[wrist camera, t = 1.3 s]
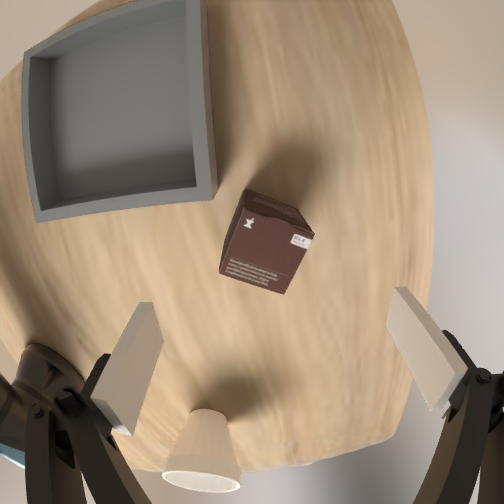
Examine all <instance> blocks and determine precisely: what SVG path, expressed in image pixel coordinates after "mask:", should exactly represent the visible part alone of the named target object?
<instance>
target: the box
mask: <svg viewBox="0 0 504 504" xmlns="http://www.w3.org/2000/svg"><path fill="white" fill-rule="evenodd" d="M314 235H315V233H314V232H313V231H312V230H311V228H310V226H309V225H308V224H307V222H306V221H305V219H304V218H303V216H302V215H301V213H300V212H299V210H298V209H296V208H293V207H291V206H288V205H286V204H283V203H281V202H278V201H276V200H274V199H271V198H268V197H266V196H263V195H260V194H258V193H255V192H252V191H250V190H247V189H245V190H244V191H243V193H242V196H241V199H240V201H239V203H238V206H237V209H236V211H235V214H234V216H233V219H232V222H231V224H230V227H229V230H228V232H227V235H226V238H225V241H224V246H223V251H222V257H221V261H220V266H219V273H220V274H222V275H225V276H228V277H231V278H234V279H237V280H240V281H243V282H246V283H249V284H252V285H255V286H258V287H261V288H264V289H267V290H270V291H274V292H277V293H280V294H285V292H286V290H287V288H288V286H289V284H290V282H291V280H292V279H293V277H294V275H295V273H296V271H297V269H298V267H299V265H300V263H301V261H302V259H303V257H304V255H305V253H306V251H307V249H308V247H309V245H310V243H311V241H312V239H313V237H314Z"/></svg>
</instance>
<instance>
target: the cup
mask: <svg viewBox="0 0 504 504" xmlns="http://www.w3.org/2000/svg"><path fill="white" fill-rule="evenodd" d="M162 476H163V478H164V479H165V480H166V481H168V482H169V483H171V484H174V485H176V486H179V487H182V488H185V489H190V490H195V491H201V492H229V491H234V490H236V489H238V488H239V487H240V486H241V484H240V479H241V468H240V467H238V465H237V461H236V457H235V453H234V449H233V445H232V441H231V437H230V433H229V428H228V424H227V420H226V417H225V416H224V415H223V414H222V413H220V412H218V411H215V410H210V409H197V410H193V411H192V412H191V413H190V414H189V416H188V418H187V420H186V422H185V424H184V426H183V428H182V430H181V432H180V434H179V436H178V438H177V440H176V442H175V444H174V446H173V448H172V450H171V452H170V454H169V456H168V457H167V458H166V459H165V460H164V470H163V473H162Z"/></svg>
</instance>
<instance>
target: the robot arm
mask: <svg viewBox="0 0 504 504" xmlns="http://www.w3.org/2000/svg"><path fill="white" fill-rule="evenodd" d="M385 327H386V329H387V331H388V333H389V334H390V336H391V338H392V340H393V341H394V343H395V345H396V347H397V348H398V350H399V352H400V354H401V356H402V358H403V359H404V361H405V363H406V365H407V367H408V369H409V371H410V372H411V374H412V376H413V378H414V380H415V382H416V384H417V386H418V388H419V390H420V392H421V394H422V396H423V398H424V400H425V402H426V404H427V406H428V408H429V410H430V412H433V411H436V410H438V409H441V408H443V407H444V405H445V404H446V403H447V401H448V400H449V402H450V404H451V405H450V407H449V408H448V409H447V411H446V412H445V414H444V415H443V417H442V419H444V417H445V416H446V415H447V416H446V420H445V423H444V427H443V430H442V433H441V436H440V439H439V442H438V445H437V448H436V451H435V454H434V456H433V459H432V462H431V464H430V467H429V469H428V472H427V474H426V476H425V479H424V481H423V483H422V485H421V488H420V490H419V492H418V494H417V496H416V499H415V500H414V502H413V504H469V501H470V498H471V496H472V493H473V490H474V487H475V484H476V480H477V477H478V474H479V470H480V466H481V471H480V484H479V494H478V501H477V504H504V412H503V407H504V371H503V373H502V374H491V373H490V372H489V371H488V370H487V369H484V368H477V367H476V366H475V364H474V363H473V361H472V360H471V358H470V357H469V356H468V354H467V353H466V352H465V350H464V349H462V346H461V345H460V344H459V343H458V341H457V339H456V338H455V337H454V335H452V334H451V333H449V332H448V331H447V330H443V331H441V330H440V328H439V327H438V326H437V324H436V323H435V322H434V321H433V319H432V318H431V317H430V315H429V314H428V313H427V312H426V310H425V309H424V308H423V307H422V305H421V304H420V303H419V302H418V301H417V299H416V298H415V297H414V296H413V294H412V293H411V292H410V291H409V290H408V289H407V287H406V286H405V287H396V288H394V292H393V297H392V301H391V305H390V309H389V313H388V317H387V321H386V325H385ZM163 343H164V339H163V336H162V333H161V330H160V327H159V323H158V320H157V317H156V313H155V310H154V307H153V303H152V302H140V303H139V305H138V306H137V308H136V310H135V312H134V313H133V315H132V317H131V319H130V320H129V322H128V324H127V326H126V328H125V330H124V331H123V333H122V335H121V337H120V339H119V341H118V343H117V345H116V346H115V348H114V350H113V352H112V354H106V353H104V354H103V355H102V356H101V357H100V358H99V359H98V360H97V362H96V364H95V365H94V367H93V370H92V371H91V373H90V376H89V377H88V379H87V381H86V383H84V381H83V379H82V378H81V376H80V375H79V373H78V372H77V371H76V370H75V369H74V368H73V367H72V366H71V365H70V364H69V363H68V362H67V361H66V360H65V359H64V358H62V357H61V356H60V355H59V354H57V353H56V352H54V351H53V350H51V349H49V348H47V347H45V346H43V345H40V344H36V343H32V344H29V345H28V346H27V347H26V348H25V350H24V351H23V353H22V355H21V360H20V363H19V367H18V371H17V374H16V378H15V380H14V382H13V383H12V385H10V384H9V382H8V381H7V380H6V379H5V378H4V376H3V375H2V374H1V373H0V455H2V456H3V457H5V458H6V459H8V460H10V461H11V462H13V463H15V464H16V465H18V466H20V467H21V468H23V469H25V479H26V492H27V502H28V504H87V501H86V497H85V492H84V487H83V481H82V475H81V471H82V474H83V476H84V479H85V481H86V483H87V485H88V488H89V490H90V492H91V494H92V496H93V498H94V500H95V502H96V504H152V503H151V501H150V500H149V499H148V497H147V496H146V494H145V493H144V491H143V489H142V488H141V486H140V485H139V483H138V482H137V480H136V478H135V476H134V475H133V473H132V471H131V470H130V468H129V466H128V464H127V463H126V461H125V459H124V457H123V455H122V453H121V451H120V449H119V448H118V446H117V444H116V442H115V440H114V438H113V436H112V434H111V430H112V427H113V428H114V429H115V430H116V432H117V433H119V434H124V435H129V436H133V433H134V430H135V427H136V424H137V420H138V417H139V414H140V411H141V407H142V404H143V401H144V398H145V395H146V392H147V389H148V386H149V383H150V380H151V377H152V374H153V371H154V368H155V365H156V362H157V359H158V357H159V354H160V351H161V348H162V345H163Z"/></svg>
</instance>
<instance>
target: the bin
mask: <svg viewBox="0 0 504 504" xmlns="http://www.w3.org/2000/svg"><path fill="white" fill-rule="evenodd" d="M21 104H22V133H23V145H24V155H25V164H26V171H27V178H28V184H29V190H30V195H31V200H32V205H33V210H34V214H35V218H36V222H37V223H40V222H46V221H51V220H57V219H63V218H68V217H74V216H81V215H87V214H94V213H100V212H107V211H115V210H122V209H130V208H138V207H146V206H155V205H164V204H173V203H183V202H194V201H206V200H213V199H214V197H215V195H216V193H217V191H218V189H219V188H218V177H217V166H216V154H215V141H214V128H213V114H212V99H211V83H210V65H209V45H208V21H207V5H206V2H205V0H137V1H134V2H130V3H127V4H124V5H121V6H118V7H116V8H113V9H110V10H107V11H105V12H102V13H100V14H97V15H95V16H92V17H90V18H88V19H85V20H83V21H81V22H79V23H77V24H74V25H72V26H70V27H68V28H66V29H64V30H62V31H60V32H58V33H57V34H55V35H53V36H51V37H49V38H47V39H46V40H44V41H42V42H41V43H39V44H37V45H35V46H34V47H33V48H31V49H29V50H28V51H26V52H24V60H23V72H22V100H21Z"/></svg>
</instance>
